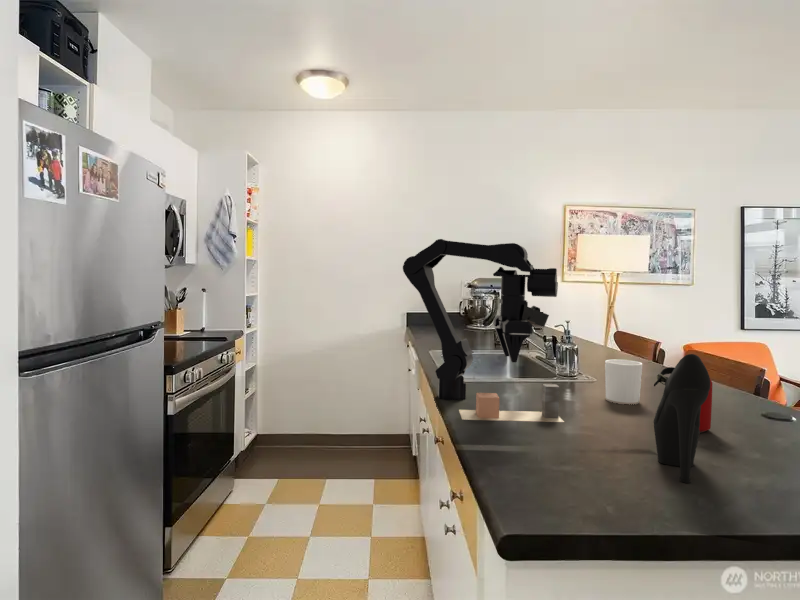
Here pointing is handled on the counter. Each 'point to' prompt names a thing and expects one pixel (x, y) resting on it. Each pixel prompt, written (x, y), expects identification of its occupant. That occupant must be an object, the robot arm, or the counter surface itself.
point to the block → (487, 405)
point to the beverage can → (706, 412)
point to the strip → (547, 415)
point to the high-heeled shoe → (681, 413)
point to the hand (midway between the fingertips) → (510, 359)
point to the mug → (623, 381)
